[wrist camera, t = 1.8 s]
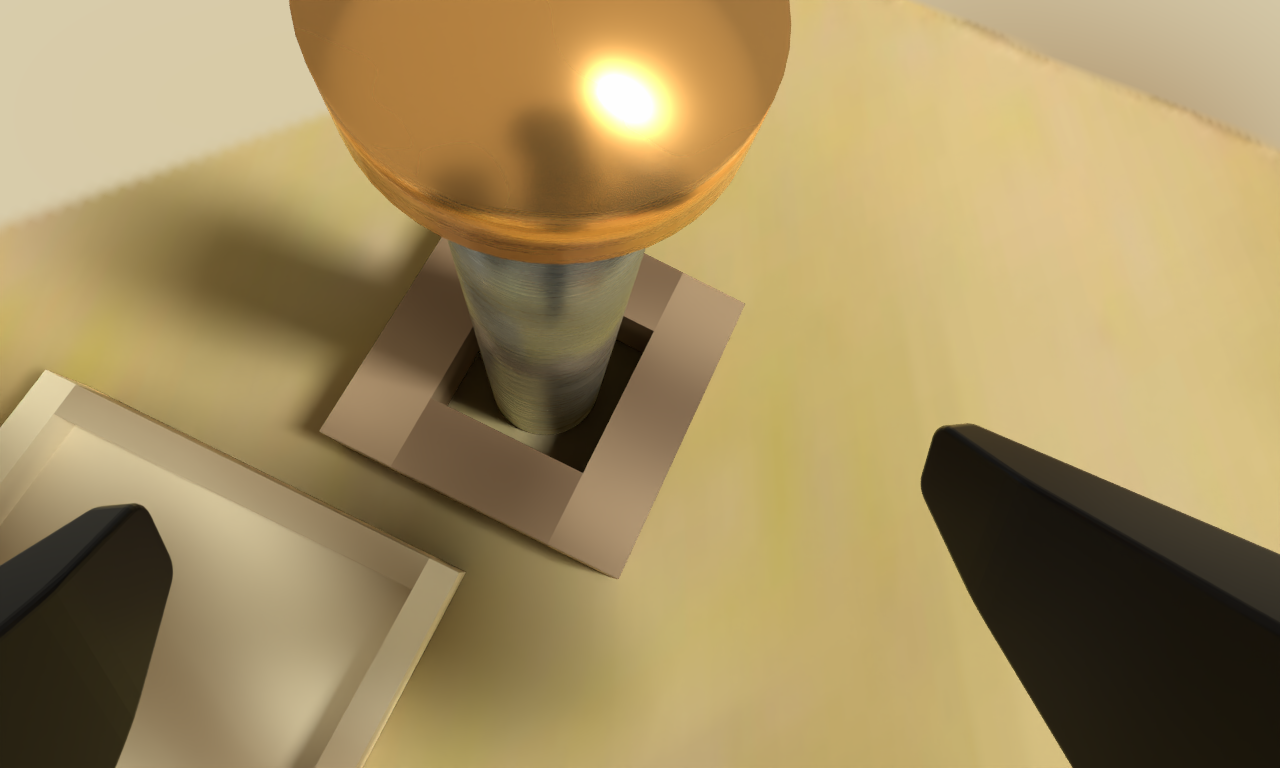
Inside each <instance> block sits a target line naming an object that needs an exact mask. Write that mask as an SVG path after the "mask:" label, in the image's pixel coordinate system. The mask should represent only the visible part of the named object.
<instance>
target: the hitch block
mask: <svg viewBox="0 0 1280 768" xmlns="http://www.w3.org/2000/svg"><path fill="white" fill-rule="evenodd" d="M744 306H745V303H743V302H741V301H739V300H737V299H735V298H733V297H731V296H729V295H727V294H725V293H723V292H721V291H719V290H717V289H715V288H713V287H711V286H709V285H707V284H705V283H703V282H701V281H699V280H697V279H695V278H693V277H691V276H689V275H687V274H685V273H683V272H681V271H679V270H677V269H675V268H673V267H671V266H669V265H667V264H665V263H663V262H661V261H659V260H657V259H655V258H653V257H651V256H649V255H647V254H645V253H644V255H643V258H642V261H641V264H640V267H639V270H638V273H637V276H636V279H635V282H634V285H633V288H632V291H631V294H630V297H629V301H628V304H627V307H626V310H625V313H624V316H623V319H622V322H621V325H620V328H619V331H618V334H617V337H616V340H618V341H620V342H622V343H624V344H626V345H628V346H630V347H632V348H634V349H636V350H638V351H640V352H642V353H643V354H642V356H641V358H640V360H639V362H638V364H637V366H636V368H635V370H634V372H633V374H632V376H631V378H630V380H629V382H628V384H627V386H626V388H625V390H624V392H623V394H622V396H621V398H620V400H619V402H618V404H617V406H616V408H615V410H614V412H613V414H612V416H611V418H610V420H609V422H608V424H607V426H606V428H605V430H604V432H603V434H602V436H601V438H600V440H599V442H598V444H597V446H596V448H595V450H594V452H593V454H592V456H591V458H590V460H589V462H588V464H587V466H586V468H585V470H584V472H583V473H582V472H580V471H578V470H576V469H574V468H572V467H570V466H568V465H566V464H564V463H562V462H560V461H558V460H556V459H553V458H551V457H549V456H547V455H545V454H543V453H541V452H539V451H537V450H535V449H533V448H531V447H529V446H527V445H525V444H523V443H521V442H519V441H517V440H515V439H513V438H511V437H509V436H507V435H505V434H503V433H501V432H499V431H497V430H495V429H493V428H491V427H489V426H487V425H485V424H483V423H481V422H479V421H477V420H475V419H473V418H471V417H469V416H467V415H465V414H463V413H461V412H459V411H456V410H454V409H452V408H450V407H448V404H449V402H450V400H451V399H452V397H453V395H454V393H455V392H456V390H457V388H458V387H459V385H460V383H461V381H462V380H463V378H464V376H465V374H466V373H467V371H468V369H469V368H470V366H471V364H472V362H473V361H474V359H475V357H476V355H477V354H478V352H479V350H480V348H479V345H478V341H477V338H476V335H475V331H474V328H473V325H472V321H471V318H470V315H469V311H468V308H467V304H466V301H465V298H464V294H463V291H462V288H461V284H460V281H459V278H458V274H457V271H456V268H455V264H454V261H453V257H452V254H451V251H450V247H449V244H448V241H447V239H445V238H443V237H441V239H440V241H439V242H438V244H437V245H436V247H435V249H434V250H433V252H432V253H431V255H430V256H429V258H428V260H427V261H426V263H425V264H424V266H423V268H422V269H421V271H420V272H419V274H418V275H417V277H416V279H415V280H414V282H413V283H412V285H411V287H410V288H409V290H408V291H407V293H406V294H405V296H404V298H403V299H402V301H401V302H400V304H399V305H398V307H397V309H396V310H395V312H394V313H393V315H392V317H391V318H390V320H389V321H388V323H387V324H386V326H385V328H384V329H383V331H382V332H381V334H380V336H379V337H378V339H377V340H376V342H375V343H374V345H373V347H372V348H371V350H370V351H369V353H368V355H367V356H366V358H365V359H364V361H363V362H362V364H361V366H360V367H359V369H358V370H357V372H356V374H355V375H354V377H353V378H352V380H351V381H350V383H349V385H348V386H347V388H346V389H345V391H344V393H343V394H342V396H341V397H340V399H339V400H338V402H337V404H336V405H335V407H334V408H333V410H332V412H331V413H330V415H329V416H328V418H327V419H326V421H325V423H324V424H323V426H322V427H321V429H320V431H319V432H321V433H323V434H324V435H326V436H328V437H330V438H331V439H333V440H335V441H337V442H338V443H340V444H342V445H344V446H346V447H348V448H350V449H352V450H354V451H356V452H358V453H360V454H362V455H364V456H366V457H368V458H370V459H372V460H374V461H376V462H378V463H380V464H382V465H384V466H386V467H388V468H390V469H392V470H394V471H396V472H398V473H400V474H402V475H404V476H406V477H409V478H411V479H413V480H415V481H417V482H419V483H421V484H423V485H425V486H427V487H429V488H431V489H433V490H435V491H437V492H439V493H441V494H443V495H445V496H447V497H449V498H451V499H453V500H455V501H457V502H459V503H461V504H463V505H465V506H467V507H469V508H471V509H473V510H475V511H477V512H479V513H482V514H484V515H486V516H488V517H490V518H492V519H494V520H496V521H498V522H500V523H502V524H504V525H506V526H508V527H510V528H512V529H514V530H516V531H518V532H520V533H522V534H524V535H526V536H528V537H530V538H532V539H534V540H536V541H538V542H540V543H542V544H544V545H546V546H548V547H550V548H552V549H554V550H557V551H559V552H561V553H563V554H565V555H567V556H569V557H571V558H573V559H575V560H577V561H579V562H581V563H583V564H585V565H587V566H589V567H591V568H593V569H595V570H597V571H599V572H601V573H603V574H605V575H607V576H609V577H612V578H616V579H619V577H620V575H621V573H622V571H623V568H624V566H625V564H626V562H627V560H628V558H629V555H630V553H631V551H632V549H633V547H634V545H635V542H636V540H637V538H638V536H639V534H640V532H641V529H642V527H643V525H644V523H645V521H646V519H647V516H648V514H649V512H650V510H651V508H652V505H653V503H654V501H655V499H656V497H657V495H658V492H659V490H660V488H661V486H662V484H663V482H664V479H665V477H666V475H667V473H668V471H669V469H670V466H671V464H672V462H673V460H674V458H675V456H676V453H677V451H678V449H679V447H680V445H681V442H682V440H683V438H684V436H685V434H686V432H687V429H688V427H689V425H690V423H691V421H692V419H693V416H694V414H695V412H696V410H697V408H698V406H699V403H700V401H701V399H702V397H703V395H704V393H705V390H706V388H707V386H708V384H709V382H710V379H711V377H712V375H713V373H714V371H715V369H716V366H717V364H718V362H719V360H720V358H721V356H722V353H723V351H724V349H725V347H726V345H727V343H728V340H729V338H730V336H731V334H732V332H733V330H734V327H735V325H736V323H737V321H738V319H739V316H740V314H741V312H742V310H743V308H744Z"/></svg>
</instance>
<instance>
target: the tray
mask: <svg viewBox="0 0 1280 768" xmlns="http://www.w3.org/2000/svg"><path fill="white" fill-rule="evenodd" d="M129 503H137V504H140V505H142V506H144V507H145V508H146V509H147V510H148V511H149V513H150V515H151V517H152V519H153V521H154V523H155V525H156V527H157V529H158V532H159V534H160V536H161V538H162V540H163V542H164V544H165V547H166V549H167V551H168V553H169V555H170V558H171V561H172V565H173V579H172V584H171V588H170V592H169V595H168V599H167V603H166V606H165V610H164V614H163V617H162V621H161V625H160V628H159V632H158V636H157V640H156V643H155V647H154V651H153V654H152V658H151V662H150V665H149V669H148V673H147V677H146V680H145V684H144V688H143V691H142V695H141V698H140V702H139V705H138V708H137V711H136V715H135V718H134V721H133V724H132V726H131V729H130V732H129V734H128V737H127V740H126V743H125V745H124V748H123V750H122V753H121V755H120V758H119V760H118V763H117V766H116V768H363V766H364V764H365V762H366V760H367V758H368V756H369V754H370V753H371V751H372V749H373V747H374V745H375V743H376V741H377V739H378V737H379V736H380V734H381V732H382V730H383V728H384V726H385V724H386V722H387V720H388V719H389V717H390V715H391V713H392V711H393V709H394V707H395V705H396V703H397V702H398V700H399V698H400V696H401V694H402V692H403V690H404V688H405V686H406V685H407V683H408V681H409V679H410V677H411V675H412V673H413V671H414V669H415V667H416V666H417V664H418V662H419V660H420V658H421V656H422V654H423V652H424V650H425V649H426V647H427V645H428V643H429V641H430V639H431V637H432V635H433V633H434V632H435V630H436V628H437V626H438V624H439V622H440V620H441V618H442V616H443V615H444V613H445V611H446V609H447V607H448V605H449V603H450V601H451V599H452V597H453V596H454V594H455V592H456V590H457V588H458V586H459V584H460V582H461V580H462V579H463V577H464V575H465V573H466V572H465V571H463V570H461V569H459V568H457V567H455V566H453V565H451V564H449V563H447V562H445V561H443V560H440V559H438V558H436V557H434V556H432V555H430V554H428V553H426V552H424V551H422V550H420V549H418V548H416V547H414V546H412V545H410V544H408V543H406V542H404V541H402V540H400V539H398V538H396V537H394V536H392V535H390V534H388V533H386V532H384V531H382V530H380V529H377V528H375V527H373V526H371V525H369V524H367V523H365V522H363V521H361V520H359V519H357V518H355V517H353V516H351V515H349V514H347V513H345V512H343V511H341V510H339V509H337V508H335V507H333V506H331V505H329V504H327V503H325V502H323V501H321V500H319V499H317V498H314V497H312V496H310V495H308V494H306V493H304V492H302V491H300V490H298V489H296V488H294V487H292V486H290V485H288V484H286V483H284V482H282V481H280V480H278V479H276V478H274V477H272V476H270V475H268V474H266V473H264V472H262V471H260V470H258V469H256V468H254V467H251V466H249V465H247V464H245V463H243V462H241V461H239V460H237V459H235V458H233V457H231V456H229V455H227V454H225V453H223V452H221V451H219V450H217V449H215V448H213V447H211V446H209V445H207V444H205V443H203V442H201V441H199V440H197V439H195V438H193V437H191V436H188V435H186V434H184V433H182V432H180V431H178V430H176V429H174V428H172V427H170V426H168V425H166V424H164V423H162V422H160V421H158V420H156V419H154V418H152V417H150V416H148V415H146V414H144V413H142V412H140V411H138V410H136V409H134V408H132V407H130V406H128V405H125V404H123V403H121V402H119V401H117V400H115V399H113V398H111V397H109V396H107V395H105V394H103V393H101V392H99V391H97V390H95V389H93V388H91V387H89V386H87V385H85V384H82V383H79V382H77V381H74V380H72V379H69V378H66V377H64V376H61V375H59V374H56V373H53V372H51V371H48V370H45V371H44V372H43V374H42V375H41V376H40V377H39V379H38V380H37V381H36V383H35V384H34V385H33V386H32V388H31V389H30V390H29V391H28V393H27V394H26V395H25V397H24V398H23V399H22V400H21V402H20V403H19V404H18V406H17V407H16V408H15V409H14V411H13V412H12V413H11V415H10V416H9V417H8V418H7V420H6V421H5V422H4V423H3V425H2V426H1V427H0V565H2V564H3V563H5V562H6V561H8V560H10V559H11V558H13V557H14V556H16V555H18V554H19V553H21V552H22V551H24V550H26V549H27V548H29V547H31V546H32V545H34V544H35V543H37V542H39V541H40V540H42V539H43V538H45V537H47V536H48V535H50V534H51V533H53V532H55V531H56V530H58V529H60V528H61V527H63V526H64V525H66V524H68V523H69V522H71V521H72V520H74V519H76V518H77V517H79V516H81V515H82V514H84V513H85V512H87V511H89V510H91V509H92V508H96V507H100V506H108V505H118V504H129Z"/></svg>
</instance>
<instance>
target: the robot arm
mask: <svg viewBox="0 0 1280 768" xmlns="http://www.w3.org/2000/svg"><path fill="white" fill-rule="evenodd" d="M921 490H922V494H923V497H924V500H925V502H926V504H927V506H928V508H929V510H930V512H931V515H932V517H933V519H934V521H935V523H936V525H937V527H938V529H939V531H940V534H941V536H942V538H943V540H944V542H945V544H946V546H947V548H948V551H949V553H950V555H951V557H952V559H953V561H954V563H955V565H956V568H957V570H958V572H959V574H960V576H961V578H962V580H963V582H964V585H965V586H966V588H967V590H968V592H969V594H970V596H971V598H972V600H973V602H974V604H975V606H976V607H977V609H978V611H979V613H980V614H981V616H982V618H983V620H984V621H985V623H986V625H987V626H988V628H989V630H990V631H991V633H992V635H993V636H994V638H995V640H996V641H997V643H998V645H999V646H1000V648H1001V650H1002V651H1003V653H1004V655H1005V656H1006V658H1007V660H1008V661H1009V663H1010V665H1011V666H1012V668H1013V670H1014V671H1015V673H1016V675H1017V676H1018V678H1019V680H1020V681H1021V683H1022V685H1023V686H1024V688H1025V689H1026V691H1027V693H1028V694H1029V696H1030V698H1031V699H1032V701H1033V703H1034V704H1035V706H1036V708H1037V709H1038V711H1039V713H1040V714H1041V716H1042V718H1043V719H1044V721H1045V723H1046V724H1047V726H1048V728H1049V729H1050V731H1051V733H1052V734H1053V736H1054V738H1055V739H1056V741H1057V743H1058V744H1059V746H1060V748H1061V749H1062V751H1063V753H1064V754H1065V756H1066V758H1067V759H1068V761H1069V763H1070V764H1071V766H1072V768H1280V554H1278V553H1276V552H1273V551H1271V550H1269V549H1266V548H1264V547H1261V546H1259V545H1257V544H1254V543H1252V542H1250V541H1247V540H1245V539H1243V538H1240V537H1238V536H1236V535H1233V534H1231V533H1229V532H1226V531H1224V530H1222V529H1219V528H1217V527H1215V526H1212V525H1210V524H1207V523H1205V522H1203V521H1200V520H1198V519H1196V518H1193V517H1191V516H1189V515H1186V514H1184V513H1182V512H1179V511H1177V510H1175V509H1172V508H1170V507H1168V506H1165V505H1163V504H1160V503H1158V502H1156V501H1153V500H1151V499H1149V498H1146V497H1144V496H1142V495H1139V494H1137V493H1135V492H1132V491H1130V490H1128V489H1125V488H1123V487H1121V486H1118V485H1116V484H1114V483H1111V482H1109V481H1106V480H1104V479H1102V478H1099V477H1097V476H1095V475H1092V474H1090V473H1088V472H1085V471H1083V470H1081V469H1078V468H1076V467H1074V466H1071V465H1069V464H1067V463H1064V462H1062V461H1059V460H1057V459H1055V458H1052V457H1050V456H1048V455H1045V454H1043V453H1041V452H1038V451H1036V450H1034V449H1031V448H1029V447H1027V446H1024V445H1022V444H1020V443H1017V442H1015V441H1013V440H1010V439H1008V438H1005V437H1003V436H1001V435H998V434H996V433H994V432H991V431H989V430H987V429H984V428H982V427H980V426H977V425H974V424H968V423H967V424H956V425H945V426H942V427H940V428H938V429H937V431H936V432H935V433H934V435H933V438H932V442H931V445H930V448H929V452H928V455H927V459H926V462H925V465H924V469H923V472H922V476H921ZM172 579H173V565H172V561H171V558H170V555H169V553H168V551H167V549H166V547H165V544H164V542H163V540H162V538H161V536H160V534H159V532H158V529H157V527H156V525H155V523H154V521H153V519H152V517H151V515H150V513H149V511H148V510H147V509H146V508H145V507H144V506H142V505H140V504H137V503H129V504H118V505H108V506H100V507H96V508H92V509H91V510H89V511H87V512H85V513H84V514H82V515H81V516H79V517H77V518H76V519H74V520H72V521H71V522H69V523H68V524H66V525H64V526H63V527H61V528H60V529H58V530H56V531H55V532H53V533H51V534H50V535H48V536H47V537H45V538H43V539H42V540H40V541H39V542H37V543H35V544H34V545H32V546H31V547H29V548H27V549H26V550H24V551H22V552H21V553H19V554H18V555H16V556H14V557H13V558H11V559H10V560H8V561H6V562H5V563H3V564H2V565H0V768H116V766H117V763H118V760H119V758H120V755H121V753H122V750H123V748H124V745H125V743H126V740H127V737H128V734H129V732H130V729H131V726H132V724H133V721H134V718H135V715H136V711H137V708H138V705H139V702H140V698H141V695H142V691H143V688H144V684H145V680H146V677H147V673H148V669H149V665H150V662H151V658H152V654H153V651H154V647H155V643H156V640H157V636H158V632H159V628H160V625H161V621H162V617H163V614H164V610H165V606H166V603H167V599H168V595H169V592H170V588H171V584H172Z"/></svg>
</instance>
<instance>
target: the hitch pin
mask: <svg viewBox="0 0 1280 768" xmlns="http://www.w3.org/2000/svg"><path fill="white" fill-rule="evenodd" d="M289 2H290V10H291V15H292V20H293V25H294V30H295V35H296V37H297V40H298V43H299V46H300V48H301V51H302V54H303V56H304V59H305V62H306V64H307V66H308V68H309V71H310V73H311V75H312V77H313V79H314V81H315V83H316V85H317V87H318V90H319V92H320V94H321V96H322V98H323V100H324V102H325V104H326V106H327V108H328V111H329V113H330V115H331V117H332V119H333V121H334V123H335V125H336V127H337V129H338V132H339V134H340V136H341V138H342V140H343V141H344V143H345V145H346V147H347V148H348V150H349V152H350V154H351V156H352V157H353V159H354V161H355V162H356V164H357V165H358V166H359V167H360V169H361V170H362V171H363V173H364V174H365V175H366V177H367V178H368V179H369V181H370V182H371V183H372V184H373V185H374V186H375V187H376V188H377V189H378V190H379V191H380V192H381V193H382V194H383V195H384V196H385V197H386V198H387V199H388V200H389V201H390V202H391V203H392V204H393V205H394V206H396V207H397V208H398V209H400V210H401V211H402V212H404V213H405V214H406V215H408V216H409V217H410V218H411V219H413V220H414V221H415V222H417V223H419V224H420V225H422V226H424V227H426V228H427V229H429V230H431V231H432V232H434V233H436V234H438V235H439V236H441V237H443V238H445V239H447V241H448V244H449V247H450V251H451V254H452V257H453V261H454V264H455V268H456V271H457V274H458V278H459V281H460V284H461V288H462V291H463V294H464V298H465V301H466V304H467V308H468V311H469V315H470V318H471V321H472V325H473V328H474V331H475V335H476V338H477V341H478V345H479V348H480V351H481V355H482V358H483V362H484V365H485V368H486V372H487V375H488V378H489V382H490V385H491V388H492V392H493V395H494V398H495V401H496V404H497V406H498V408H499V409H500V411H501V412H502V414H503V415H504V416H505V417H506V418H507V419H508V420H509V421H510V422H511V423H512V424H513V425H515V426H516V427H518V428H520V429H522V430H524V431H527V432H530V433H533V434H539V435H552V434H558V433H562V432H565V431H567V430H569V429H571V428H573V427H575V426H576V425H578V424H579V423H580V422H581V421H583V420H584V419H585V418H586V416H587V415H588V414H589V413H590V411H591V409H592V408H593V406H594V404H595V401H596V399H597V396H598V392H599V389H600V386H601V383H602V380H603V377H604V374H605V371H606V368H607V365H608V362H609V359H610V356H611V353H612V350H613V346H614V343H615V340H616V337H617V334H618V331H619V328H620V325H621V322H622V319H623V316H624V313H625V310H626V307H627V304H628V301H629V297H630V294H631V291H632V288H633V285H634V282H635V279H636V276H637V273H638V270H639V267H640V264H641V261H642V258H643V255H644V251H645V248H647V247H650V246H652V245H654V244H656V243H658V242H660V241H662V240H664V239H666V238H668V237H670V236H672V235H674V234H675V233H677V232H678V231H679V230H681V229H682V228H684V227H685V226H687V225H688V224H690V223H691V222H693V221H694V220H696V219H697V218H698V217H699V216H700V215H701V214H702V213H703V212H704V211H705V210H707V209H708V208H709V207H710V206H711V205H712V204H713V203H714V202H715V201H716V200H717V199H718V197H719V196H720V195H721V194H722V192H723V191H724V190H725V189H726V188H727V186H728V185H729V184H730V183H731V181H732V179H733V178H734V176H735V174H736V172H737V171H738V169H739V167H740V166H741V164H742V162H743V160H744V158H745V156H746V154H747V152H748V150H749V148H750V146H751V144H752V142H753V140H754V138H755V136H756V134H757V132H758V130H759V128H760V126H761V124H762V122H763V120H764V118H765V116H766V114H767V112H768V110H769V108H770V106H771V104H772V102H773V100H774V98H775V95H776V93H777V90H778V88H779V85H780V83H781V80H782V78H783V75H784V71H785V67H786V63H787V58H788V54H789V48H790V34H791V16H790V4H789V0H289Z"/></svg>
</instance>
